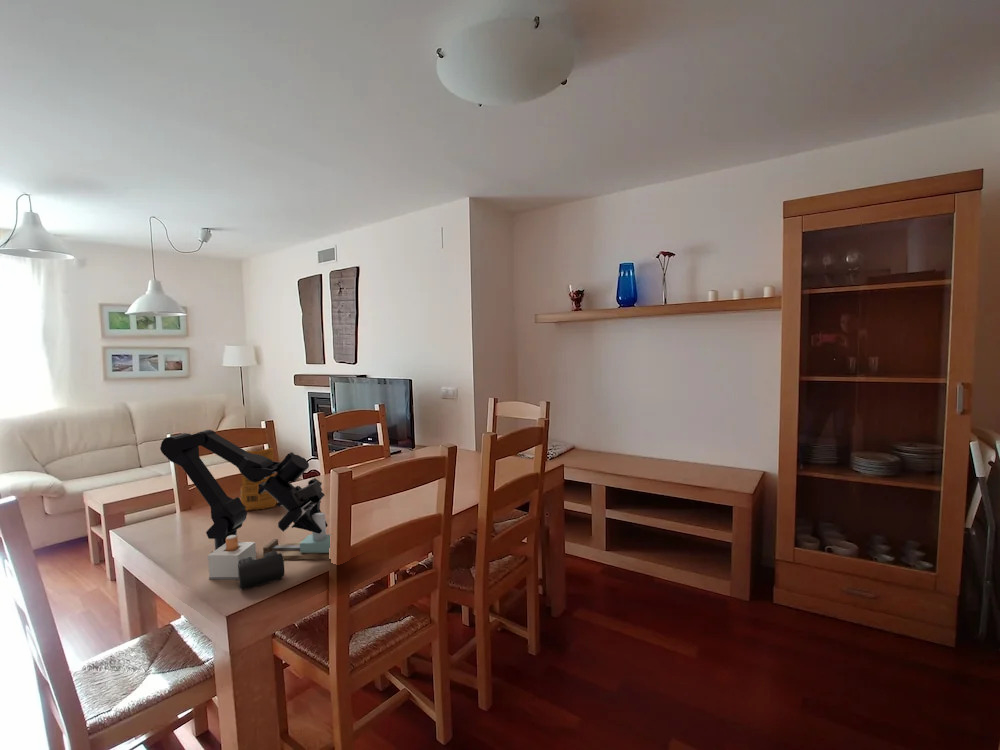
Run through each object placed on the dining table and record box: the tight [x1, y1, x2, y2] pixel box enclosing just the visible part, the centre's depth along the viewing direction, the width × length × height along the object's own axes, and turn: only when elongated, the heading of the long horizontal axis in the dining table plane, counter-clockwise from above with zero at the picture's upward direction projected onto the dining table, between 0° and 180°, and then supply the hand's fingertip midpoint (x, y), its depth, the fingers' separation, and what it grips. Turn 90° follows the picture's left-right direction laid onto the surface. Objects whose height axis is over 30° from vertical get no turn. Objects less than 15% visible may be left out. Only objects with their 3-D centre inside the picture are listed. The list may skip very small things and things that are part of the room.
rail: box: [262, 538, 329, 561], centre depth 135 cm, size 21×8×3 cm, turn 88°
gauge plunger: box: [226, 534, 239, 551], centre depth 124 cm, size 3×3×4 cm
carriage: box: [299, 512, 331, 553], centre depth 134 cm, size 9×6×10 cm, turn 88°
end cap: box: [238, 551, 285, 591], centre depth 118 cm, size 10×7×7 cm
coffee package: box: [239, 447, 278, 512], centre depth 175 cm, size 10×12×22 cm
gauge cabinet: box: [207, 541, 257, 581], centre depth 124 cm, size 8×8×6 cm
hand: (323, 529), depth 134 cm, fingers closed on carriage, 4 cm apart
